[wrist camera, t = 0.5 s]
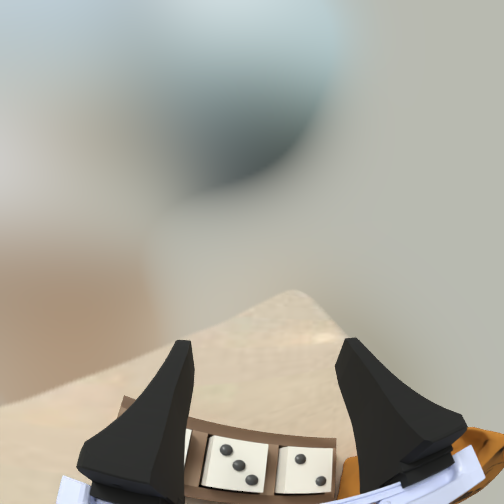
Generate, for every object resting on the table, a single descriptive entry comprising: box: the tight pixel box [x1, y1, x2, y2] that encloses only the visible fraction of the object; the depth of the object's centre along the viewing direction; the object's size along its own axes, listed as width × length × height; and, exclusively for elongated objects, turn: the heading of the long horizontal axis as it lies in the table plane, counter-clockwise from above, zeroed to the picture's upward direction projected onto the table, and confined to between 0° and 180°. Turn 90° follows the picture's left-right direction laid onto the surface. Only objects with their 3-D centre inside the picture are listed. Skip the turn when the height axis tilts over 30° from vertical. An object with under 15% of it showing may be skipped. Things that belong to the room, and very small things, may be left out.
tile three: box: [199, 435, 268, 493], centre depth 19 cm, size 5×5×3 cm
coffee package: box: [337, 427, 504, 504], centre depth 14 cm, size 10×12×22 cm
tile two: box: [274, 446, 333, 493], centre depth 20 cm, size 5×5×3 cm
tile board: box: [117, 396, 336, 504], centre depth 20 cm, size 8×22×3 cm, turn 84°
